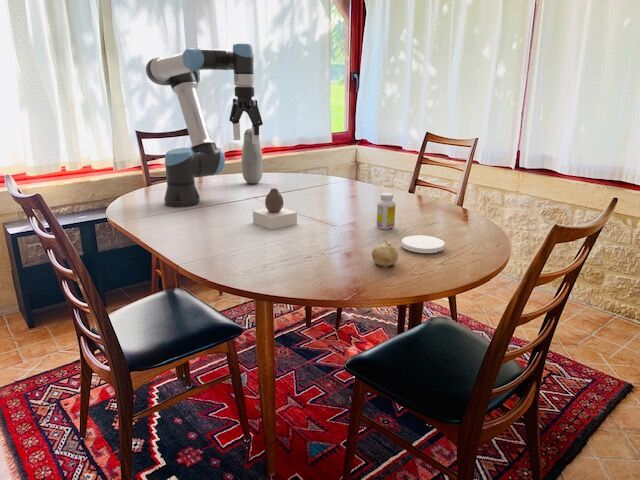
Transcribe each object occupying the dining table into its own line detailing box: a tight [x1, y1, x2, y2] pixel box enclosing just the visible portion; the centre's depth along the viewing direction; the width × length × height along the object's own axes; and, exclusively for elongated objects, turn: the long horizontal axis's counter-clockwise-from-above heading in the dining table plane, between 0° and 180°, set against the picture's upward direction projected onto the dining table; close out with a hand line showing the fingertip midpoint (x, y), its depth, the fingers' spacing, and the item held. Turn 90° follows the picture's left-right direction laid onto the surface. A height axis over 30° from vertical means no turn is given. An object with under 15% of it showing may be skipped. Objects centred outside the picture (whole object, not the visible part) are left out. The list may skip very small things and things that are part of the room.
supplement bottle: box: [376, 192, 396, 230], centre depth 188 cm, size 7×7×13 cm
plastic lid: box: [401, 234, 446, 254], centre depth 168 cm, size 14×14×2 cm
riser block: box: [252, 207, 298, 231], centre depth 194 cm, size 12×12×5 cm
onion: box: [371, 240, 399, 268], centre depth 153 cm, size 8×8×7 cm
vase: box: [264, 188, 284, 213], centre depth 192 cm, size 7×7×9 cm
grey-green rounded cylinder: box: [241, 128, 263, 185], centre depth 259 cm, size 10×10×28 cm
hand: (246, 141), depth 202 cm, fingers open, 13 cm apart
